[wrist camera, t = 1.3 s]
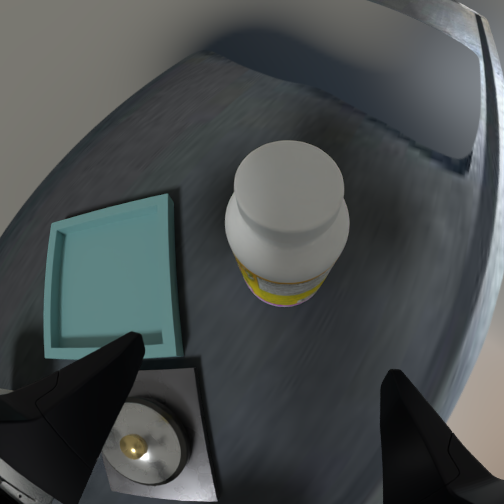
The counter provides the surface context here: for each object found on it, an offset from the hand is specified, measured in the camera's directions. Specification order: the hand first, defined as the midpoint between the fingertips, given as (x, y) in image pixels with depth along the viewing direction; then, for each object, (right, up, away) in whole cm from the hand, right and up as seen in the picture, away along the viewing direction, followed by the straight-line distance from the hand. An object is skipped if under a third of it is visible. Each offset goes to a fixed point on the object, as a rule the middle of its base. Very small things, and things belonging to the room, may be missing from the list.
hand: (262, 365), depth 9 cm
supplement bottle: (+2, +2, +15) cm, 15 cm away
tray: (-14, +1, +15) cm, 20 cm away
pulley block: (-9, -12, +10) cm, 18 cm away
